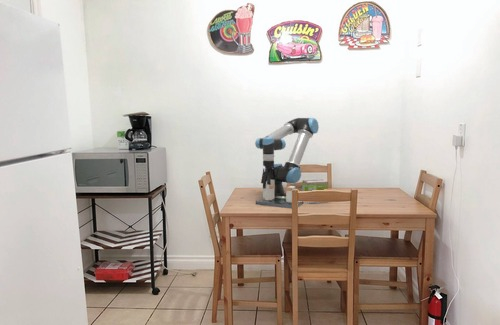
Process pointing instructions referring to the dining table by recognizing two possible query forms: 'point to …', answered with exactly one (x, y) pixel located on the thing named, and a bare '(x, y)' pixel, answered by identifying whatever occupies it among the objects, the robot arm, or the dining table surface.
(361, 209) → the dining table surface
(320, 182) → the tea box
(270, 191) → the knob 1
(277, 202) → the levelling base
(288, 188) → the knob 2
